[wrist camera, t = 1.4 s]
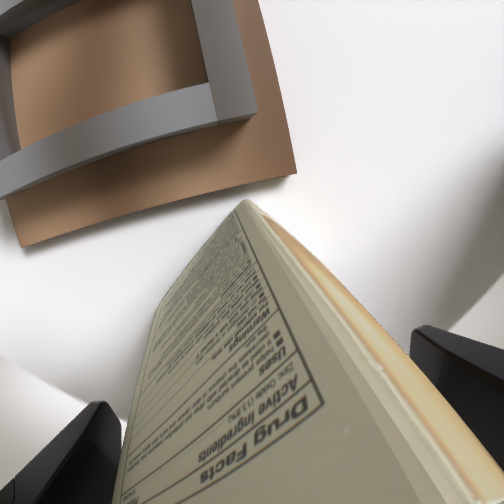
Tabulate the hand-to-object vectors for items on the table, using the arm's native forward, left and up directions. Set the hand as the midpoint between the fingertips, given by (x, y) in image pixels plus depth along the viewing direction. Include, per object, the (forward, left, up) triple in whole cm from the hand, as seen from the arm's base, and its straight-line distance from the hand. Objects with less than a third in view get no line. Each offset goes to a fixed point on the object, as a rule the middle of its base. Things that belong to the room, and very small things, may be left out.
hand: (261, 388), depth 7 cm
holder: (+3, -10, -7) cm, 12 cm away
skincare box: (0, 0, -7) cm, 7 cm away
